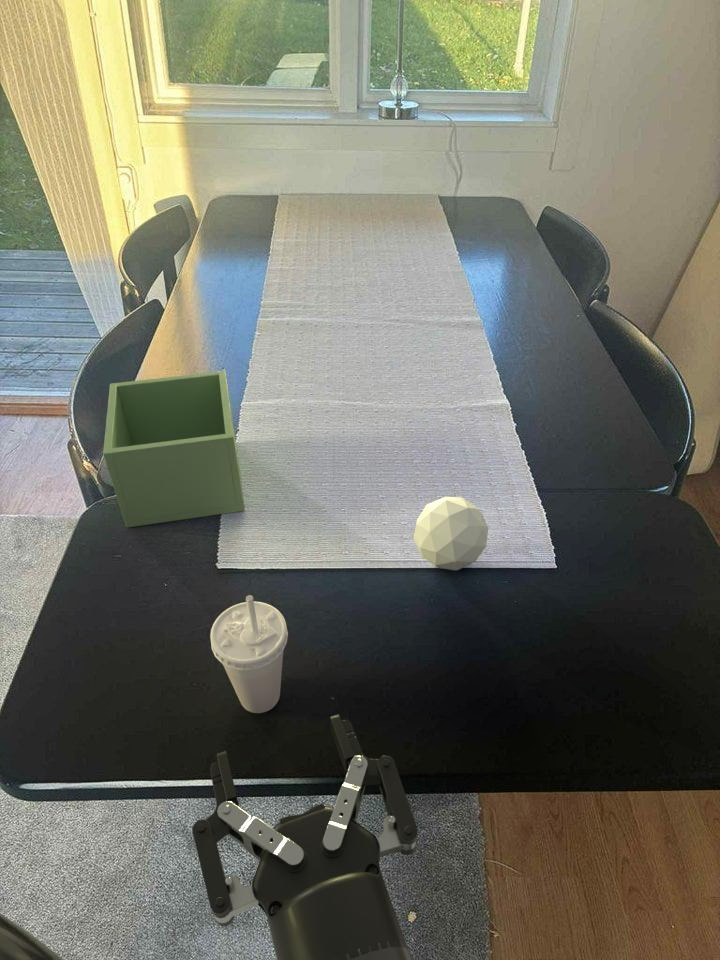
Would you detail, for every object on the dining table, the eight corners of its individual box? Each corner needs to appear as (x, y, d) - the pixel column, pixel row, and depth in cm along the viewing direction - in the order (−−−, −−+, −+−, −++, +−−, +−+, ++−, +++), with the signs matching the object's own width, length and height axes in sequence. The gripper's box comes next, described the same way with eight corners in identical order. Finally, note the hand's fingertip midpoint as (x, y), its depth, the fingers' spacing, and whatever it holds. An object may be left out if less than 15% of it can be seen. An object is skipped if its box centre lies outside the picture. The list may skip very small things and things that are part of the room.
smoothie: (285, 731, 61) (271, 635, 52) (215, 721, 62) (189, 624, 53) (301, 669, 66) (291, 571, 57) (236, 660, 67) (215, 562, 58)
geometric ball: (463, 581, 78) (498, 571, 71) (397, 564, 76) (426, 553, 69) (471, 516, 80) (506, 500, 73) (407, 498, 78) (437, 480, 71)
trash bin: (126, 528, 81) (102, 453, 73) (130, 455, 91) (110, 383, 83) (244, 510, 83) (233, 437, 75) (235, 441, 93) (225, 370, 85)
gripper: (468, 915, 40) (369, 681, 51) (221, 1021, 36) (173, 743, 48) (456, 955, 45) (368, 733, 56) (238, 1051, 41) (191, 793, 53)
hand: (279, 738), depth 52 cm, fingers open, 8 cm apart
